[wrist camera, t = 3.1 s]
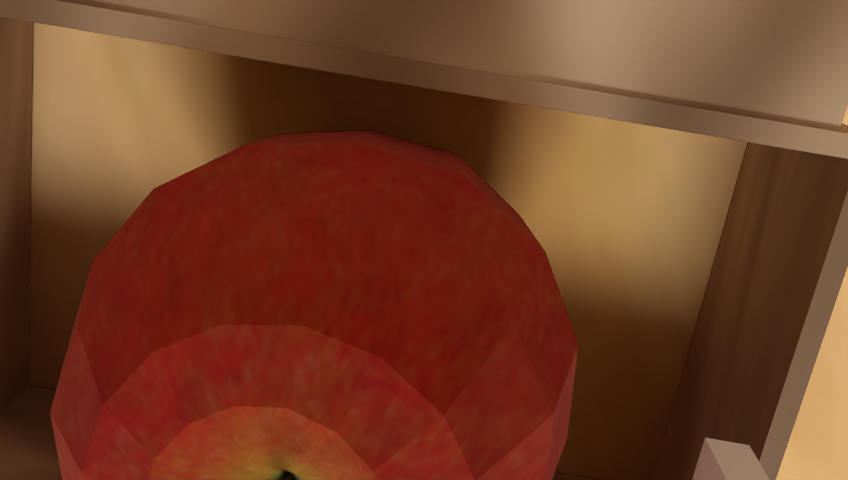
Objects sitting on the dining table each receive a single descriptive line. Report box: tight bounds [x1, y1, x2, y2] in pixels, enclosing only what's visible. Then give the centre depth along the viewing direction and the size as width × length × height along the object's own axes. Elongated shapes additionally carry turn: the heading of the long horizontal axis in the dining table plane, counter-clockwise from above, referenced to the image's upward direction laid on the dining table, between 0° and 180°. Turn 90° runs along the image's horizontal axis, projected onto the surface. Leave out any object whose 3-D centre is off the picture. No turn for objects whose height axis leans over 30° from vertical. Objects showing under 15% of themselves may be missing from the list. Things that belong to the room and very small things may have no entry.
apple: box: [50, 130, 578, 480], centre depth 17 cm, size 10×10×14 cm
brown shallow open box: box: [0, 0, 848, 480], centre depth 21 cm, size 21×18×6 cm
